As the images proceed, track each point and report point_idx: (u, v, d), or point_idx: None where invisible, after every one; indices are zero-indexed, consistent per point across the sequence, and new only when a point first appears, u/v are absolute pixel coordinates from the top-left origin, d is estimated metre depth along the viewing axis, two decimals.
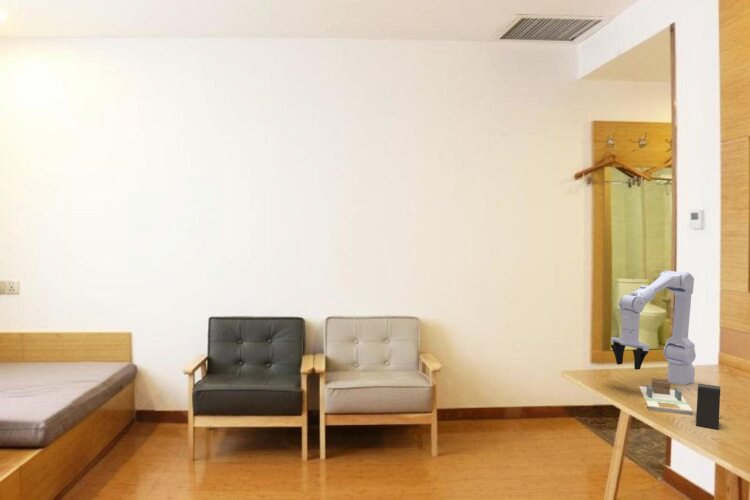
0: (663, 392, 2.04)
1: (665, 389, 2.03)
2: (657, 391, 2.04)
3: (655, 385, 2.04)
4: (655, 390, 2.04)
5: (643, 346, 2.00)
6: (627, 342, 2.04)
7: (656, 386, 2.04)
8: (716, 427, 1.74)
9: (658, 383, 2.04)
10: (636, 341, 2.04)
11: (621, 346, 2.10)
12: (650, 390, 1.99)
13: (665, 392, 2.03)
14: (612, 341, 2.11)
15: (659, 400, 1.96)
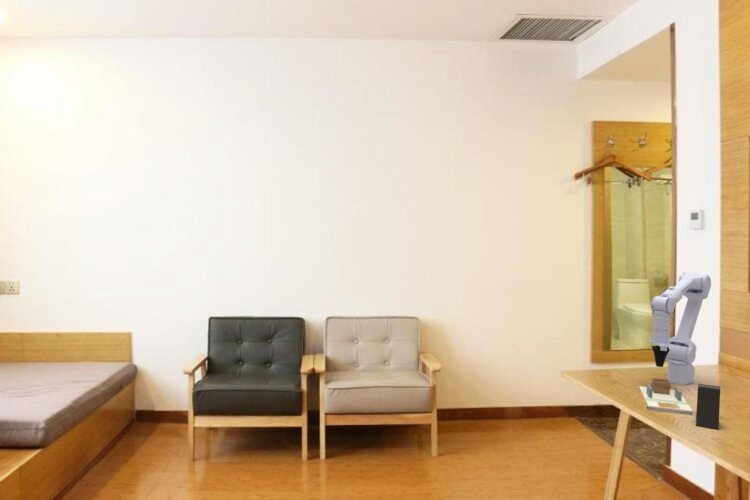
0: (663, 392, 2.04)
1: (665, 389, 2.03)
2: (657, 391, 2.04)
3: (655, 385, 2.04)
4: (655, 390, 2.04)
5: (660, 346, 2.04)
6: (653, 341, 2.10)
7: (656, 386, 2.04)
8: (716, 427, 1.74)
9: (658, 383, 2.04)
10: (662, 341, 2.07)
11: None
12: (650, 390, 1.99)
13: (665, 392, 2.03)
14: None
15: (659, 400, 1.96)
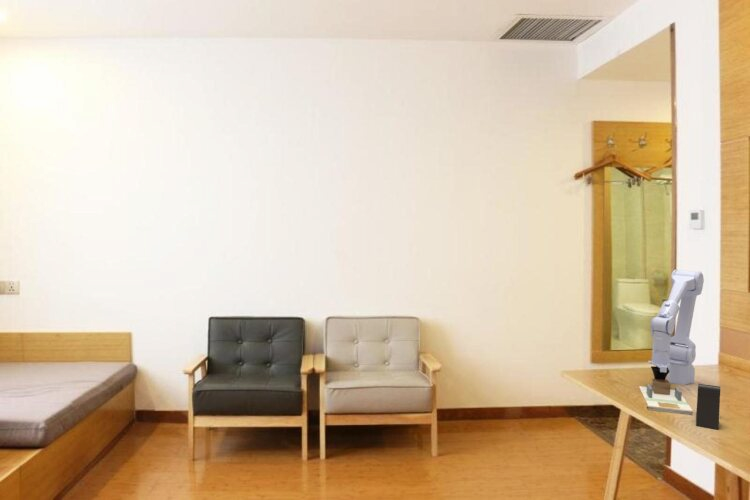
0: (663, 392, 2.03)
1: (666, 389, 2.03)
2: (657, 391, 2.04)
3: (655, 385, 2.04)
4: (655, 391, 2.04)
5: (660, 367, 2.03)
6: (652, 362, 2.08)
7: (656, 386, 2.04)
8: (716, 427, 1.74)
9: (658, 383, 2.03)
10: (661, 362, 2.06)
11: None
12: (650, 390, 1.99)
13: (665, 392, 2.03)
14: None
15: (659, 400, 1.96)
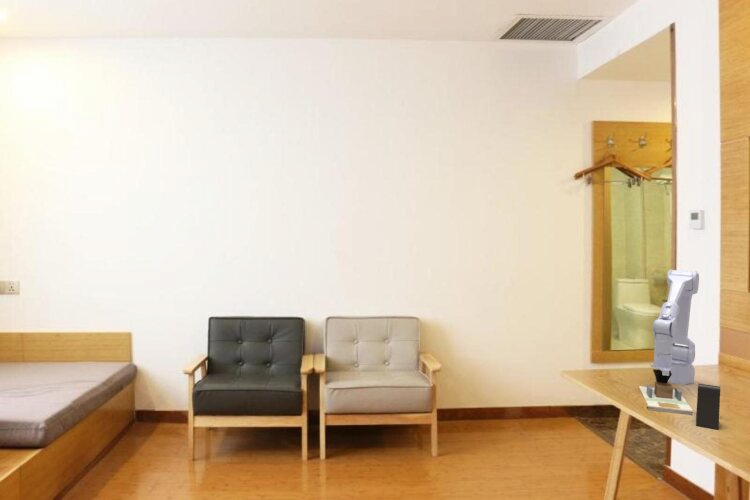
0: (666, 396, 1.99)
1: (668, 393, 1.98)
2: (660, 395, 1.99)
3: (657, 389, 1.99)
4: (657, 394, 2.00)
5: (662, 370, 1.99)
6: (654, 365, 2.04)
7: (658, 390, 1.99)
8: (716, 427, 1.74)
9: (661, 387, 1.99)
10: (664, 365, 2.02)
11: None
12: (650, 390, 1.99)
13: (668, 396, 1.99)
14: None
15: (659, 400, 1.96)
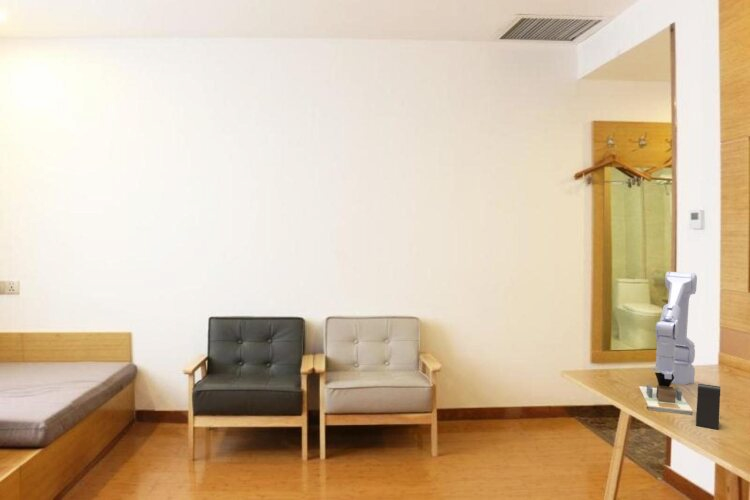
0: (668, 400, 1.94)
1: (671, 397, 1.94)
2: (662, 399, 1.95)
3: (660, 393, 1.95)
4: (659, 398, 1.95)
5: (664, 373, 1.94)
6: (656, 368, 2.00)
7: (661, 394, 1.95)
8: (716, 427, 1.74)
9: (663, 391, 1.95)
10: (666, 368, 1.97)
11: None
12: (650, 390, 1.99)
13: (670, 400, 1.94)
14: None
15: None
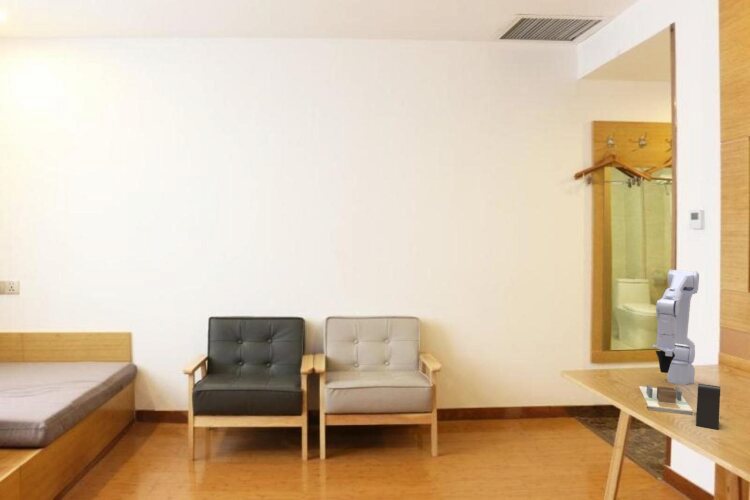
0: (669, 401, 1.93)
1: (671, 398, 1.93)
2: (662, 400, 1.94)
3: (660, 394, 1.94)
4: (660, 399, 1.94)
5: (665, 351, 1.94)
6: (657, 346, 2.00)
7: (661, 395, 1.94)
8: (716, 427, 1.74)
9: (663, 391, 1.94)
10: (667, 346, 1.97)
11: None
12: (650, 390, 1.99)
13: (671, 401, 1.93)
14: None
15: None
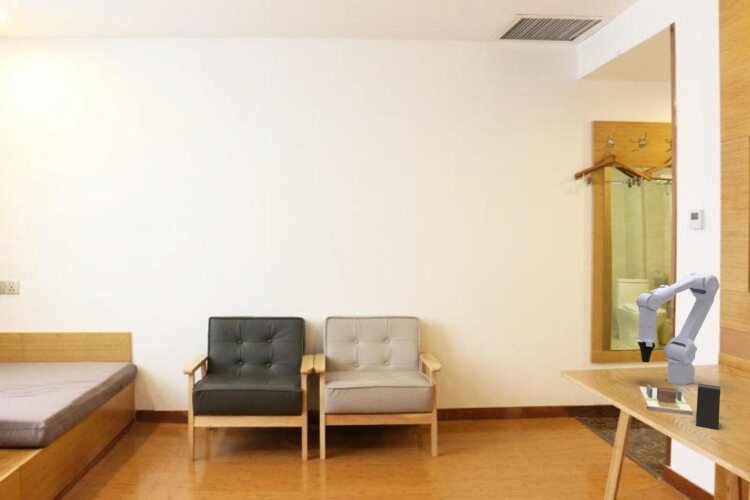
0: (669, 401, 1.93)
1: (671, 398, 1.93)
2: (662, 400, 1.94)
3: (660, 394, 1.94)
4: (660, 399, 1.94)
5: (646, 341, 2.09)
6: (639, 337, 2.14)
7: (661, 395, 1.94)
8: (716, 427, 1.74)
9: (663, 391, 1.94)
10: (647, 337, 2.12)
11: None
12: (650, 390, 1.99)
13: (671, 401, 1.93)
14: None
15: None
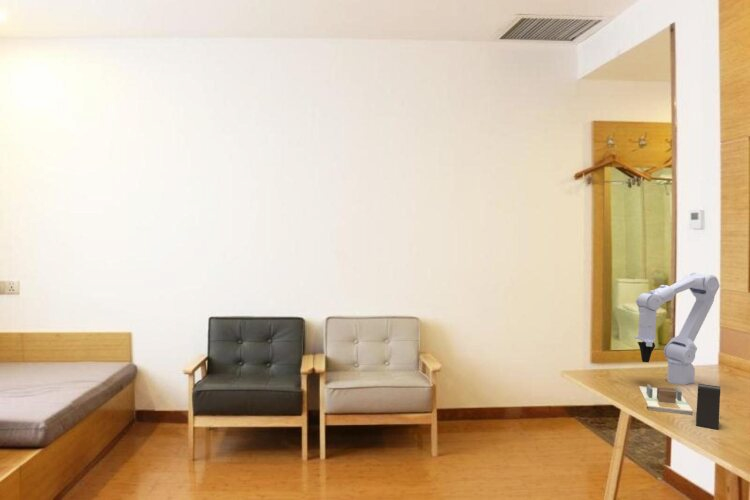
0: (669, 401, 1.93)
1: (671, 398, 1.93)
2: (662, 400, 1.94)
3: (660, 394, 1.94)
4: (660, 399, 1.94)
5: (646, 341, 2.09)
6: (639, 337, 2.14)
7: (661, 395, 1.94)
8: (716, 427, 1.74)
9: (663, 391, 1.94)
10: (647, 337, 2.12)
11: None
12: (650, 390, 1.99)
13: (671, 401, 1.93)
14: None
15: None
